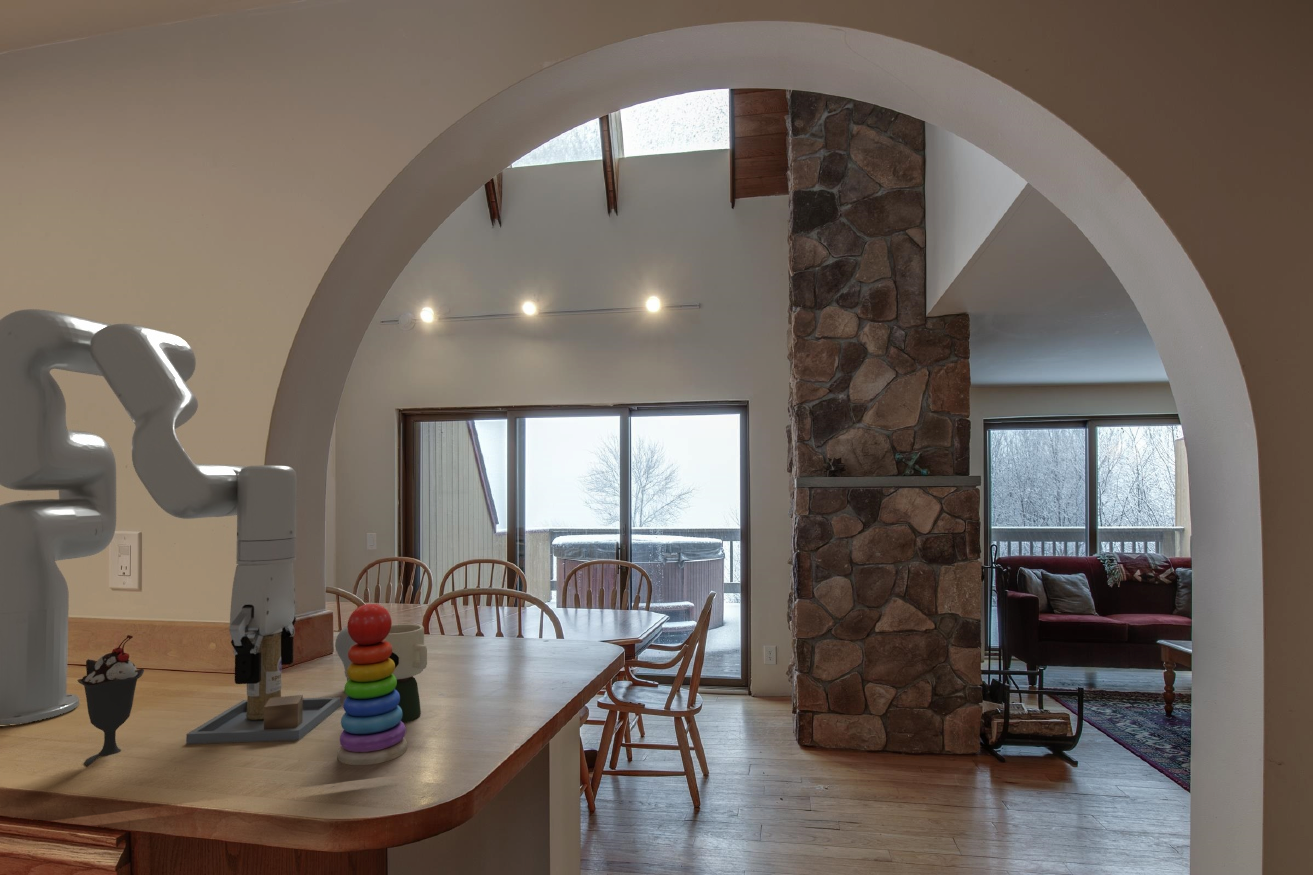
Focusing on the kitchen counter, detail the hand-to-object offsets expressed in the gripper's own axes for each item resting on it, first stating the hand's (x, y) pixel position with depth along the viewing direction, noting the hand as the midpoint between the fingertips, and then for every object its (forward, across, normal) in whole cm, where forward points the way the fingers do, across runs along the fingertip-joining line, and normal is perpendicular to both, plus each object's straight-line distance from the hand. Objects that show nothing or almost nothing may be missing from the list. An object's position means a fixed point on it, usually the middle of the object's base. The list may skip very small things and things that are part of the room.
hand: (265, 673), depth 103 cm
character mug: (+7, +2, +19) cm, 20 cm away
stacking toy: (+7, +15, +20) cm, 26 cm away
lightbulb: (+7, -13, +8) cm, 17 cm away
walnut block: (+6, +6, +6) cm, 10 cm away
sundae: (+7, +12, -13) cm, 19 cm away
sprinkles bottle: (+6, 0, 0) cm, 6 cm away
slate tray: (+7, +3, +2) cm, 8 cm away
